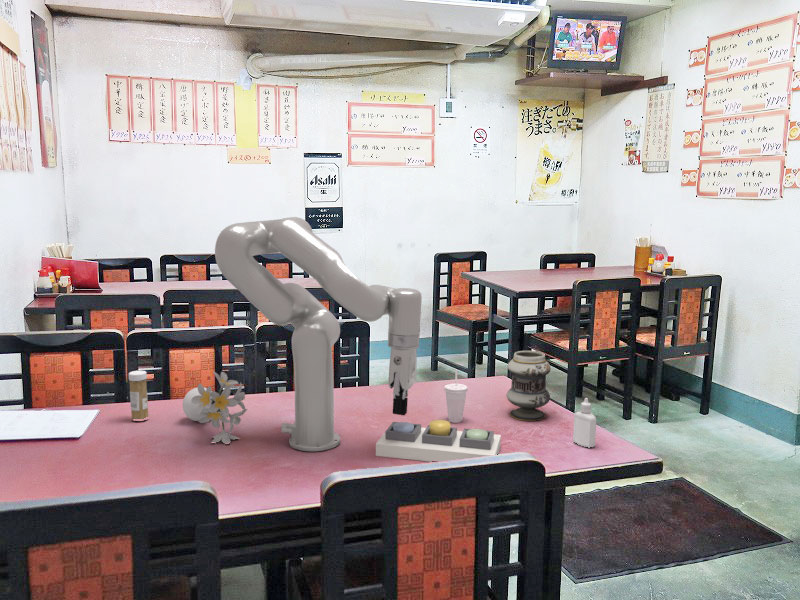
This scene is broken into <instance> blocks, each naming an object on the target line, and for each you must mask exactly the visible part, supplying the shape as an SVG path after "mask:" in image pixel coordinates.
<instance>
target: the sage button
mask: <svg viewBox="0 0 800 600" xmlns="http://www.w3.org/2000/svg"><path fill="white" fill-rule="evenodd" d="M469 429H470V430H468V431H467V435H466V438H470V439H480V440H488V432H487V431H488V430H486V431H485V429H482V428H469Z"/></svg>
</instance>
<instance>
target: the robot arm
mask: <svg viewBox="0 0 800 600" xmlns="http://www.w3.org/2000/svg"><path fill="white" fill-rule="evenodd" d="M278 253H279V254H282V256H284V257H285V258H286V259H287V260H289V261H291V262H292V263H293V264H294V265H296V266H297V267H299V269H302V270H303V271H304V272H305V273H306V274H307V275H309V276H310V277H311V278H313V279H314V280H316V282H317V283H318V284H319V286H321V288H322V289H323V290H324V291H325V292H326V293H328V295H329V297H331V298H332V299H334V301H335V302H336V303H338V304H339V305H340V306H341V307H343V308H344V309H345V310H347V311H348V312H350V313H351V314H352V315H353V316H354V317H356V318H358V319H359V320H361V321H364V322H369V323H371V322H372V323H373V322H376V321H379V319H381V318H382V317H383V316H386V315H388V328H387V329H388V330H387V331H388V332H387V347H389V348H390V355H389V365H388V366H389V367H388V387H389V388H390V389H393V392H392V394H393V399H392V414H393V415H399V416H406V414H407V412H408V400H409V399H408V396H409V390H410V389H412V387H413V386H414V385H415V384H416V381H417V371H418V370H417V366H418V364H417V362H418V361H417V359H418V357H417V354H418V353H417V350H418V349H419V348H420V332H421V317H422V316H421V315H422V313H421V312H422V298H423V297H422V293H421V292H420V291H419V290H418V289H415V288H410V287H409V288H407V287H406V288H405V287H402V288H401V287H400V288H398V287H397V288H396V287H395V288H394V287H389V286H385V285H380V284H371V285H367V284H366V283H365V282H364V281H362V280H361V279H360V278H359V277H357V276H356V275H355V274H354V273H353V272H352V271H351V270H350V269H349V268H348V267H347V266H346V264H345V262H344V260H343V257H342V256H341V254H340V253H339V252H338V251H337V250H336V249H335V248H333V247H332V246H330V245H329V244H328V243H327V242H325V241H324V240H323V239H322V238H320V237H319V236H317V234H315V233H314V232H313V228H312V226H311V224H309V222H307V221H306V220H305V219H304V218H302V217H298V216H293V217H292V216H291V217H285V218H280V219H269V220H257V221H247V222H237V223H236V222H235V223H233V224H229V225H227V226H225V228H223V229H222V230H221V231H220V233H219V234H218V236H217V238H216V241H215V247H214V256H215V263H216V266H217V267H218V270H219V271H220V272H221V274H222V275H223V277H224V278H225V279H226V281H228V282H229V283H230V284H231V285H232V286H233V287H234V288H235V289H236V290H237V291H239V292H240V294H242V295H243V296H244V297H245V298H246V299H247V300H248V302H250V303H251V304H252V305H253V306H254V307H255V308H256V309H257V310H258V311H259V312H260V313H262V315H263V316H264V317H265V318H266V319H267V320H269V322H271V324H274V325H275V326H279V327H281V326H287V325H289V324H290V325H291V326H292V327H294V330H293V333H292V336H291V351H292V359H293V370H294V374H293V375H294V377H293V378H294V380H293V381H294V422H293V423H290V422H289V423H288V422H281V425H280V430H281V434H290V435H291V436H290V437H289V439H288V443H289V445H290V447H291V448H293V449H295V450H297V449H298V451H303V452H322V451H323V452H324V451H328V450H331V449H333V448H335V447H337V446H339V444H341V436H340V435H339V434H338V433H337V432H335V419H334V418H335V416H334V414H335V410H334V409H335V405H334V404H335V403H334V401H335V400H334V397H335V395H334V388H335V386H334V383H335V382H334V381H335V380H334V363H333V362H334V361H333V353H332V352H333V346H334V345H335V343H336V342H337V341H338V340H339V339H340V334H341V326H340V323H339V321H338V319H337V318H336V316H335V315H334V314H333V313H332V312H331V311H330V310H329V309H328V308H327V307H325V306H324V304H323V303H321V302H320V301H319V300H318V299H317V298H316V297H315V296H314V295H313V294H312V293H311V292H309V291H308V289H306V288H305V287H304V286H302V285H300V284H298V283H293V282H284V283H283V282H281V280H279V279H278V278H277V277H276V276H274V274H273V273H272V272H271V271H270V270H269V269H268V268H266V266H264V265H262V263H259V262H258V261H257V260H256V259H255V258H254V256H259V255H260V256H261V255H269V254H278Z"/></svg>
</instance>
